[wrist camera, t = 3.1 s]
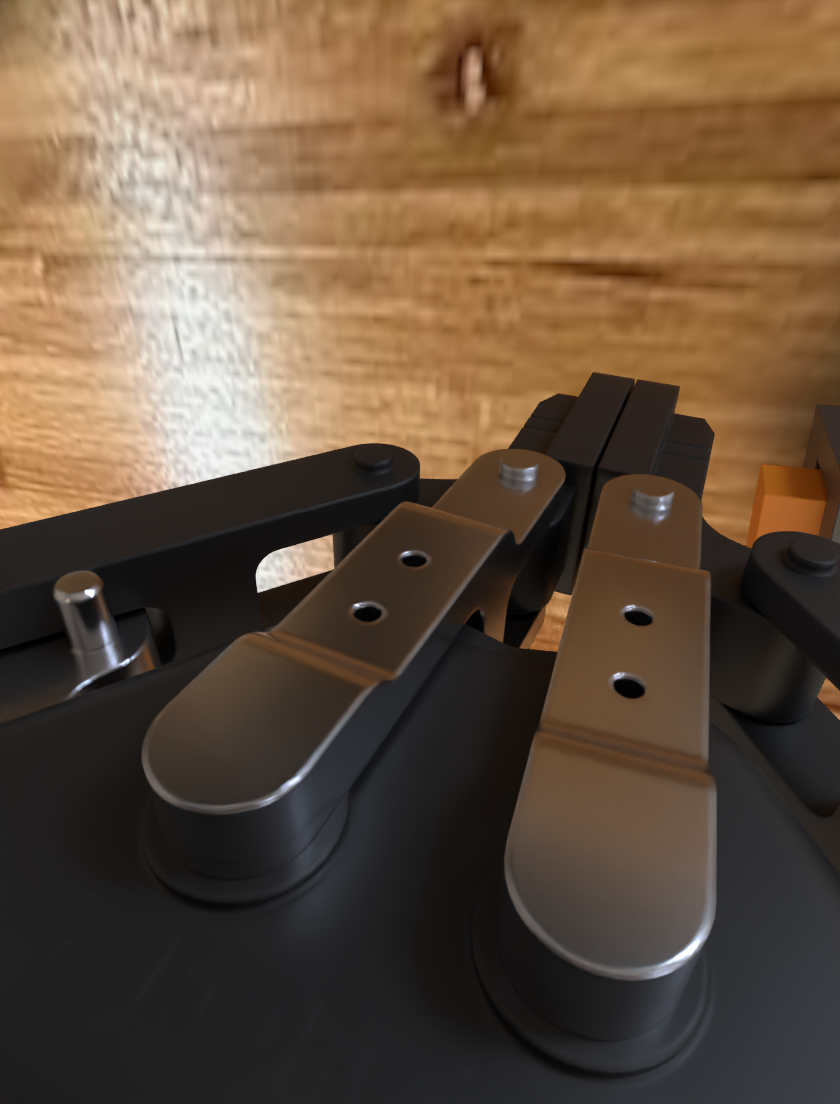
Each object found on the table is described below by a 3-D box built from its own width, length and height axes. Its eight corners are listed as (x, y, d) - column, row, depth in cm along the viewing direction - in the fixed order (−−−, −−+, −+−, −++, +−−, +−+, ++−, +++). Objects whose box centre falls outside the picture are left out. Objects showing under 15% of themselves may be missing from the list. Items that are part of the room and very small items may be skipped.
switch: (746, 541, 33) (747, 578, 30) (760, 463, 32) (763, 494, 29) (807, 548, 32) (814, 587, 29) (824, 469, 31) (834, 501, 28)
